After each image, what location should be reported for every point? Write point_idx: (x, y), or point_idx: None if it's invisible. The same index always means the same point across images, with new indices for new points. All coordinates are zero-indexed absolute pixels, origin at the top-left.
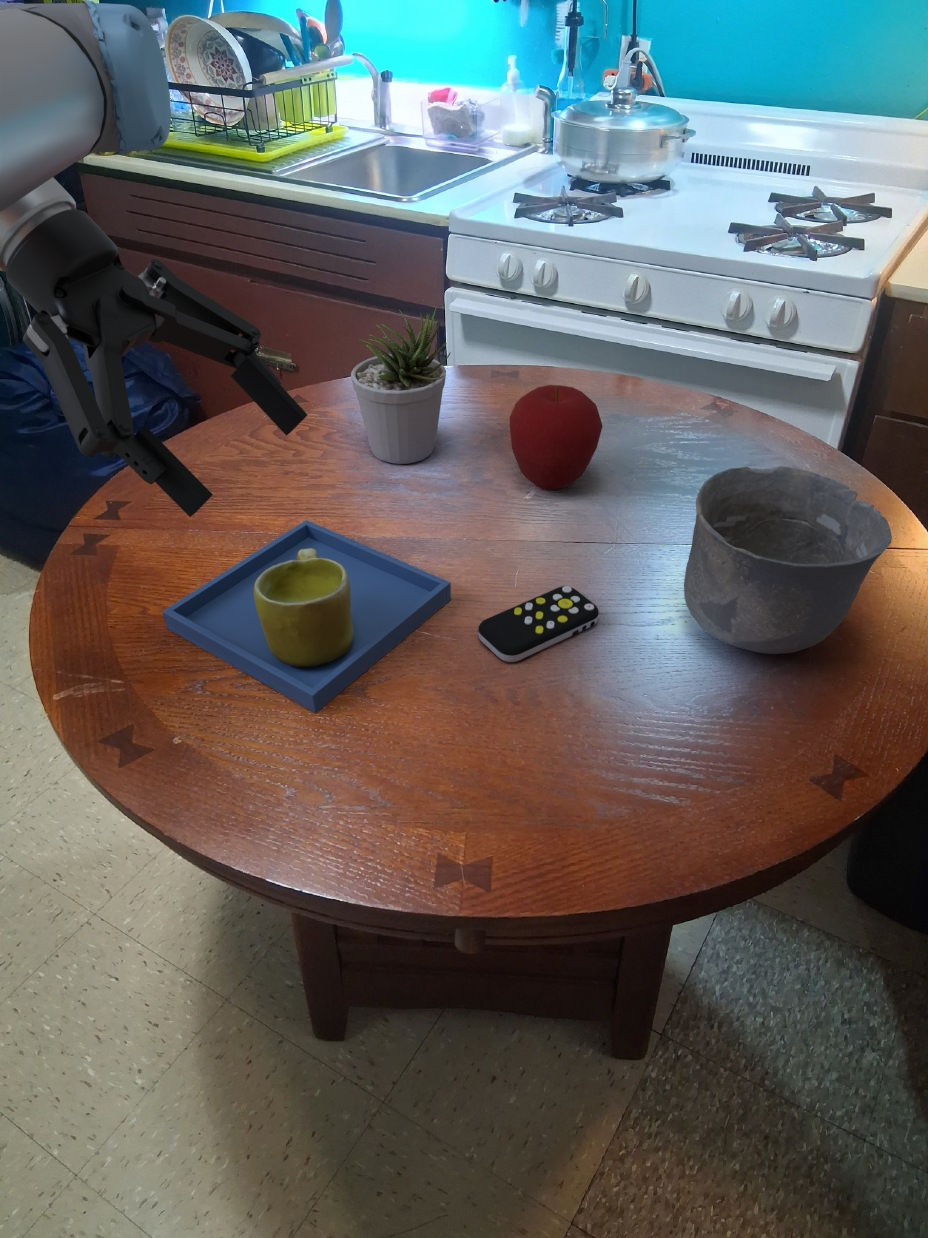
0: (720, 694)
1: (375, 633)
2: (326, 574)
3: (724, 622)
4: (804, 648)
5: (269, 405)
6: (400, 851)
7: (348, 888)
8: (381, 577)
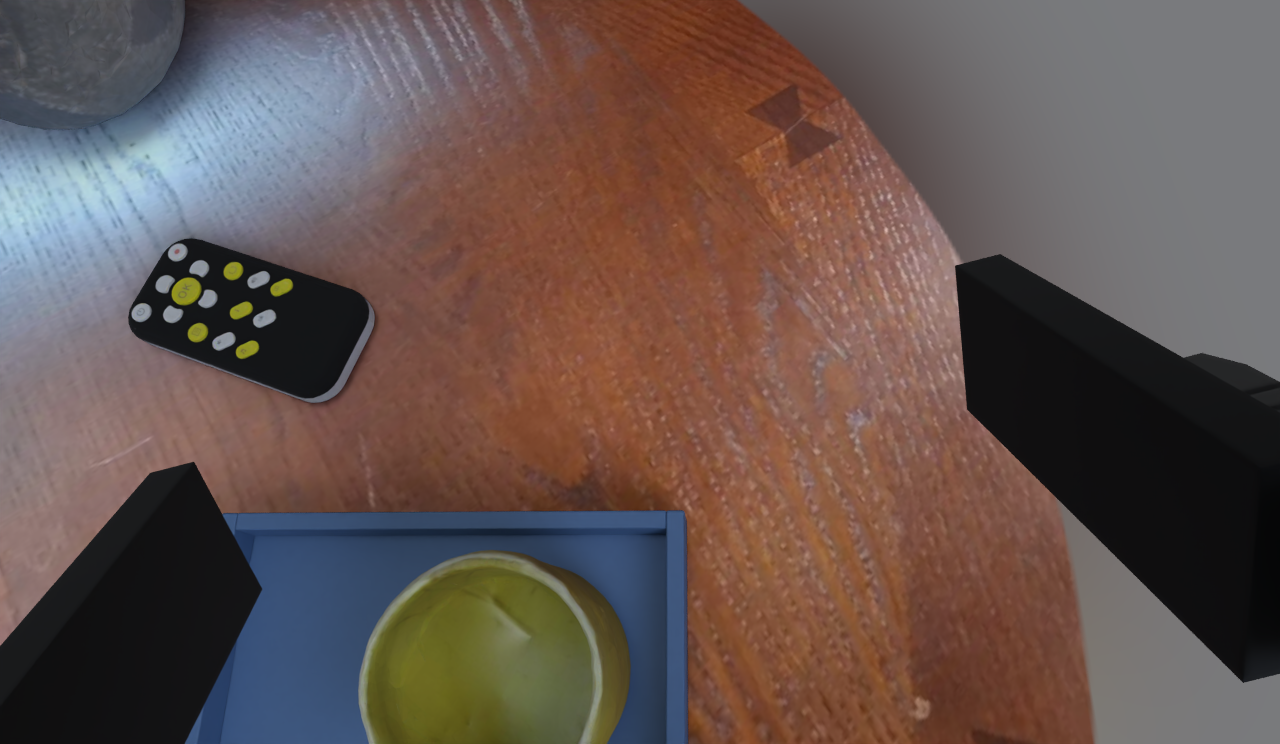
0: (283, 35)
1: None
2: (391, 695)
3: (162, 3)
4: None
5: (176, 656)
6: (824, 208)
7: (925, 223)
8: (250, 704)
